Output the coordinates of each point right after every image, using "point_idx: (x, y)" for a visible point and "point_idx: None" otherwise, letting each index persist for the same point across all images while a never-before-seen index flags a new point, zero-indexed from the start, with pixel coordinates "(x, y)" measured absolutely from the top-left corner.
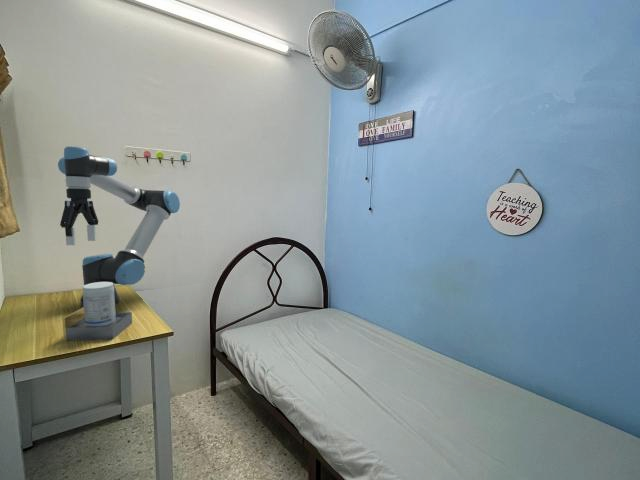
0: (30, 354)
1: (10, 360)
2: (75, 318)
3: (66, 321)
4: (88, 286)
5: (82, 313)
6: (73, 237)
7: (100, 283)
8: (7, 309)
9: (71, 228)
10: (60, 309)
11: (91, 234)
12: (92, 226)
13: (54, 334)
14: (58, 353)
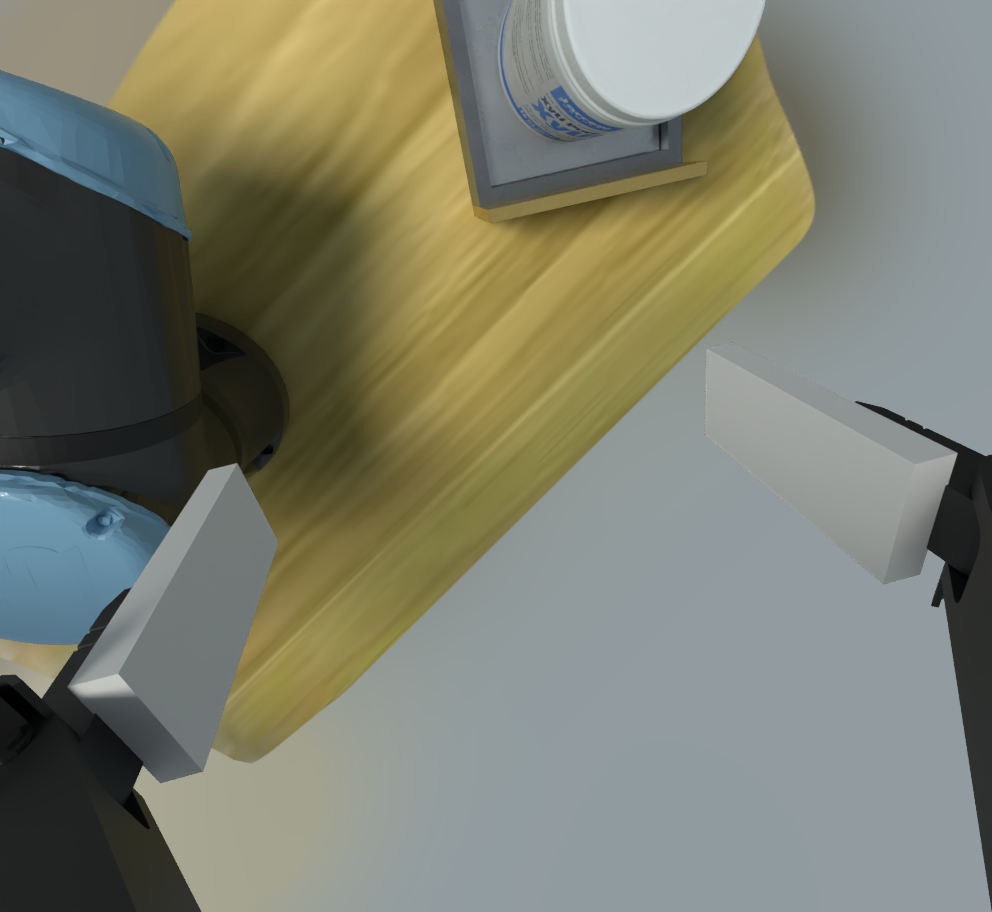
0: (763, 200)
1: (799, 228)
2: (614, 178)
3: (687, 163)
4: (715, 44)
5: (556, 192)
6: (805, 383)
7: (626, 4)
8: (383, 648)
9: (931, 477)
10: (332, 497)
11: (227, 563)
12: (153, 671)
13: (592, 275)
14: (771, 87)
